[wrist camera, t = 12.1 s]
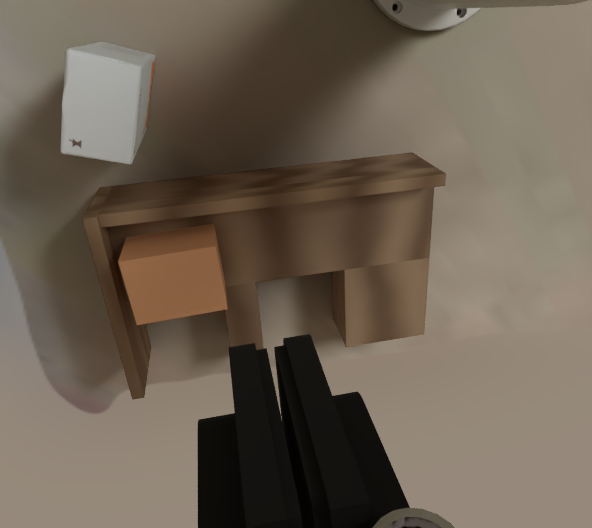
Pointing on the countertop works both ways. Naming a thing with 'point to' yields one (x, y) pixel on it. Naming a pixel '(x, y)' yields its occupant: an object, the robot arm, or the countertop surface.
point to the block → (173, 274)
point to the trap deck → (284, 243)
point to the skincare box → (105, 101)
